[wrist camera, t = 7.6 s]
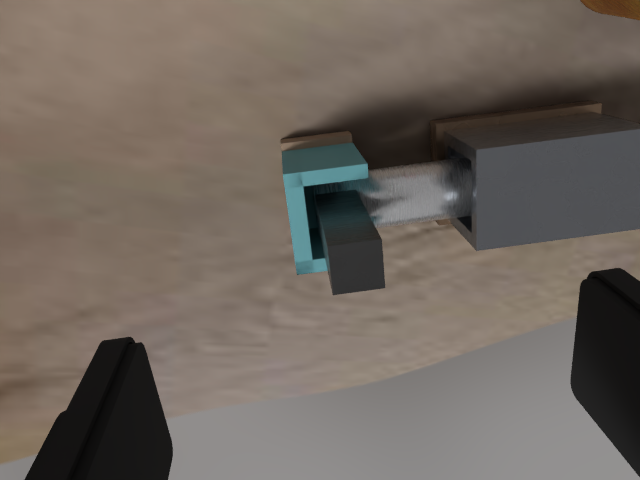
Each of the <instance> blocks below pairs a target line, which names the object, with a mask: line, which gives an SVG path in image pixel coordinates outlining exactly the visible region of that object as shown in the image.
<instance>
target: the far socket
mask: <svg viewBox="0 0 640 480" xmlns="http://www.w3.org/2000/svg"><path fill="white" fill-rule="evenodd" d="M281 149H282V165H283V179H284V186H285V193H286V200H287V207H288V214H289V221H290V228H291V236H292V243H293V250H294V257H295V264H296V271H297V275H299V274H307V273H314V272H321V271H328V270H327V265H326V261H325V256H324V252H323V247H322V242H321V238H320V236H319V233H318V227H317V220H316V213H315V206H314V198H313V189H312V185H318V184H326V183H334V182H342V181H349V180H357V179H365V178H369V177H368V164H367V162H366V161H365V159H364V158H363V157H362V155H361V154H360V152H359V151H358V150H357V148H356V147H355V145H354V144H353V142H352V134H351V133H350V132H349V131H344V132H336V133H328V134H320V135H312V136H304V137H296V138H288V139H281Z"/></svg>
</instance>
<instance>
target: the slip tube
mask: <svg viewBox="0 0 640 480" xmlns="http://www.w3.org/2000/svg"><path fill="white" fill-rule="evenodd" d="M368 177H369V178H365V179H357V180H349V181H342V182H334V183H326V184H318V185H312V189H313V198H314V206H315V213H316V220H317V227H318V233H319V236H320V238H321V242H322V247H323V252H324V256H325V261H326V265H327V270H328V275H329V279H330V284H331V288H332V293H333V295H337V294H344V293H352V292H359V291H367V290H374V289H381V288H385V279H384V265H383V251H382V239H381V237H380V235H379V233H378V231H377V229H376V228H381V227H388V226H396V225H404V224H411V223H419V222H426V221H434V220H442V219H449V218H457V217H464V216H472V169H471V160H469V159H468V158H466V157H465V158H457V159H449V160H441V161H434V162H426V163H418V164H410V165H402V166H395V167H387V168H379V169H371V170H368Z"/></svg>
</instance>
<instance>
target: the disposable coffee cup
mask: <svg viewBox="0 0 640 480" xmlns="http://www.w3.org/2000/svg"><path fill="white" fill-rule="evenodd" d="M580 1H581V2H582V3H583V4H584V5H585V6H586V7H588V8H589V9H591V10H593V11H595V12H598V13H601V14H608V15H614V16H619V17H625V18H631V19H636V20H640V0H580Z"/></svg>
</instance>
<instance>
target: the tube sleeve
mask: <svg viewBox="0 0 640 480" xmlns="http://www.w3.org/2000/svg"><path fill="white" fill-rule="evenodd" d="M601 110H602V103H598V102H594V101H582V102H574V103H566V104H558V105H550V106H543V107H535V108H527V109H519V110H511V111H503V112H495V113H487V114H479V115H471V116H463V117H455V118H447V119H439V120H431V121H430V141H431V162H434V161H441V160H449V159H457V158H465V157H466V158H468V159H469V160H471V169H472V216H464V217H457V218H449V219H442V220H435V221H436V222H437V224H438V225H445V224H452V225H453V226H454V227H455V228H456V229H457V230H458V231H459V232H460V233H461V234H462V236H463V237H464V238H465V239H466V240H467V241H468V242H469V243H470V244H471V245H472V246H473V247H474V249H475V250H476V251H478V250H486V249H493V248H501V247H508V246H516V245H523V244H531V243H538V242H546V241H553V240H561V239H568V238H576V237H583V236H590V235H598V234H605V233H613V232H620V231H628V230H635V229H640V123H637V122H633V121H629V120H624V119H620V118H616V117H612V116H608V115H604V114H601Z"/></svg>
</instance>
